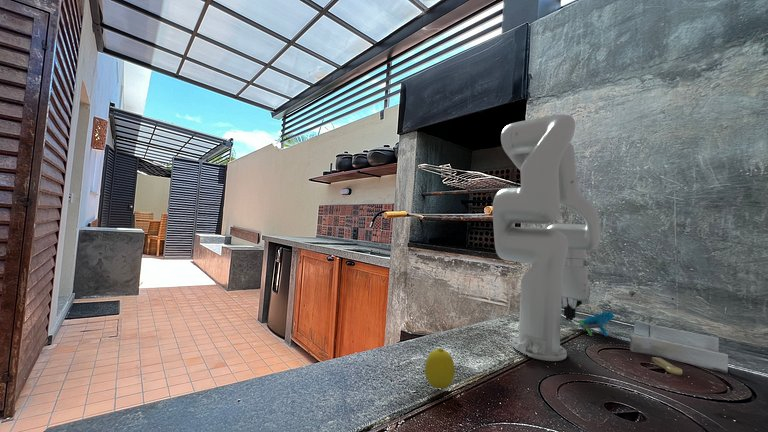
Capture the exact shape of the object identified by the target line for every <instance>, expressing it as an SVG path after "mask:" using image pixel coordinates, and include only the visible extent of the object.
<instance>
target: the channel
mask: <svg viewBox="0 0 768 432" xmlns="http://www.w3.org/2000/svg"><path fill="white" fill-rule="evenodd" d="M633 327H634V329H633V333H634V334H630V340H629V341H630V342H629V351H631V352H632V353H638V354H639V353H640V354H647V355H653V356H656V357H659V358H665V359H668V360H672V361H677V362H681V363H686V364H689V365H692V366H697V367H700V368H705V369H708V370H712V371H717V372H721V373H725V374H729V373H728V372H729V371H728V370H729V354H727V353H722V352H719V351H720V349H719V347H720V346H719V345H720V339H719V337H716V336H712V335H711V336H710V335H707V334H702V333H698V332H697V333H696V332H690V331H688V330H687V331H685V330H680V329H675V328H670V327H668V326H667V327H666V326H660V325H657V324H652V323H648V322H644V321H641V320H637V319H636V320H634V326H633Z"/></svg>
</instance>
